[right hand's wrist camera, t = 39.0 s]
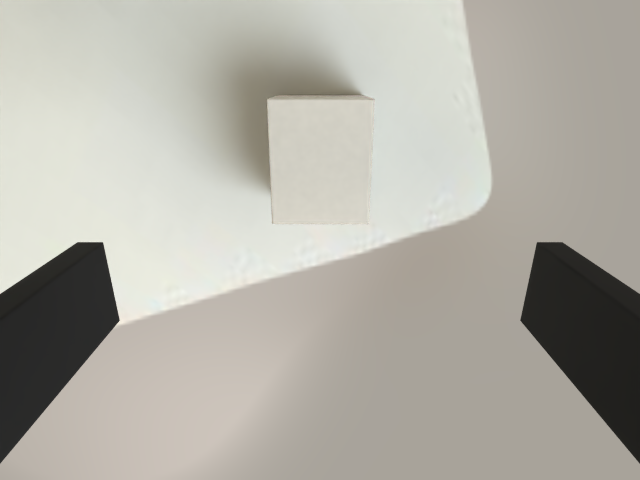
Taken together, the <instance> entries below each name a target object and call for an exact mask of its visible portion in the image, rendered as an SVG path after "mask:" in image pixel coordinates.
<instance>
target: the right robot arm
mask: <svg viewBox="0 0 640 480" xmlns="http://www.w3.org/2000/svg"><path fill="white" fill-rule="evenodd" d="M119 321H120V320H119V316H118V311H117V306H116V301H115V297H114V292H113V287H112V283H111V278H110V273H109V268H108V264H107V259H106V254H105V250H104V245H103V242H77V243H76V244H74V245H73V246H71V247H70V248H69V249H67V250H66V251H64V252H63V253H61V254H60V255H58V256H57V257H55V258H54V259H52V260H51V261H49V262H48V263H46V264H45V265H43V266H42V267H40V268H39V269H37V270H36V271H34V272H33V273H31V274H30V275H28V276H27V277H25V278H24V279H22V280H21V281H19V282H18V283H16V284H15V285H13V286H12V287H10V288H9V289H7V290H6V291H4V292H3V293H1V294H0V463H1V462H2V461H3V460H4V458H5V457H6V456H7V455H8V454H9V452H10V451H11V450H12V449H13V448H14V446H15V445H16V444H17V443H18V442H19V440H20V439H21V438H22V437H23V436H24V434H25V433H26V432H27V431H28V430H29V428H30V427H31V426H32V425H33V424H34V422H35V421H36V420H37V419H38V418H39V416H40V415H41V414H42V413H43V412H44V410H45V409H46V408H47V407H48V406H49V404H50V403H51V402H52V401H53V400H54V398H55V397H56V396H57V395H58V394H59V392H60V391H61V390H62V389H63V388H64V386H65V385H66V384H67V383H68V382H69V380H70V379H71V378H72V377H73V376H74V374H75V373H76V372H77V371H78V370H79V368H80V367H81V366H82V365H83V364H84V363H85V361H86V360H87V359H88V358H89V356H90V355H91V354H92V353H93V352H94V351H95V349H96V348H97V347H98V346H99V345H100V343H101V342H102V341H103V340H104V339H105V337H106V336H107V335H108V334H109V333H110V331H111V330H112V329H113V328H114V327H115V325H116V324H117V323H118V322H119ZM521 322H522V323H523V324H524V325H525V327H526V328H527V329H528V330H529V331H530V333H531V334H532V335H533V336H534V337H535V339H536V340H537V341H538V342H539V343H540V345H541V346H542V347H543V348H544V349H545V350H546V352H547V353H548V354H549V355H550V357H551V358H552V359H553V360H554V361H555V362H556V364H557V365H558V366H559V367H560V369H561V370H562V371H563V372H564V373H565V374H566V376H567V377H568V378H569V379H570V380H571V382H572V383H573V384H574V385H575V386H576V388H577V389H578V390H579V391H580V392H581V394H582V395H583V396H584V397H585V398H586V400H587V401H588V402H589V403H590V404H591V406H592V407H593V408H594V409H595V410H596V412H597V413H598V414H599V415H600V416H601V418H602V419H603V420H604V421H605V422H606V424H607V425H608V426H609V427H610V428H611V430H612V431H613V432H614V433H615V434H616V436H617V437H618V438H619V439H620V440H621V442H622V443H623V444H624V445H625V446H626V448H627V449H628V450H629V451H630V452H631V454H632V455H633V456H634V457H635V458H636V460H637V461H638V462H639V463H640V294H639V293H637V292H636V291H634V290H633V289H631V288H630V287H628V286H627V285H625V284H624V283H622V282H621V281H619V280H618V279H616V278H615V277H613V276H612V275H610V274H609V273H607V272H606V271H604V270H603V269H601V268H600V267H598V266H597V265H595V264H594V263H592V262H591V261H589V260H588V259H586V258H585V257H583V256H582V255H580V254H579V253H577V252H576V251H574V250H573V249H571V248H570V247H568V246H567V245H566V244H564V243H562V242H537V245H536V250H535V254H534V259H533V264H532V268H531V273H530V278H529V283H528V287H527V292H526V297H525V301H524V306H523V311H522V316H521Z"/></svg>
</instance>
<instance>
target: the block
mask: <svg viewBox="0 0 640 480" xmlns="http://www.w3.org/2000/svg"><path fill="white" fill-rule="evenodd" d="M374 106H375V100H374V99H372V98H369V97H366V96H363V95H277V96H275V97H272V98H269V99H267V118H268V141H269V163H270V186H271V208H272V224H369V210H370V189H371V168H372V147H373V126H374Z"/></svg>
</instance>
